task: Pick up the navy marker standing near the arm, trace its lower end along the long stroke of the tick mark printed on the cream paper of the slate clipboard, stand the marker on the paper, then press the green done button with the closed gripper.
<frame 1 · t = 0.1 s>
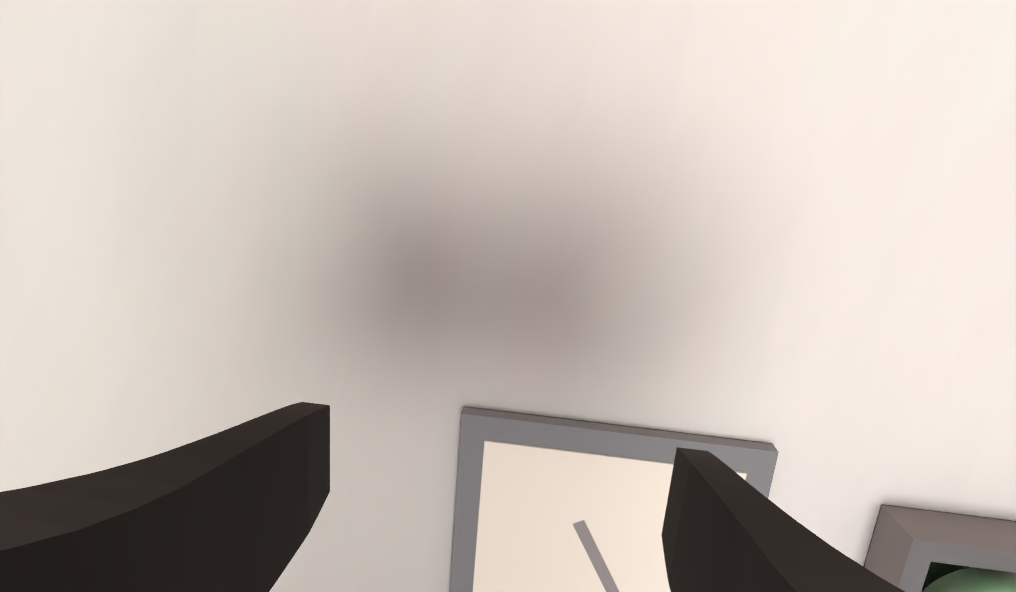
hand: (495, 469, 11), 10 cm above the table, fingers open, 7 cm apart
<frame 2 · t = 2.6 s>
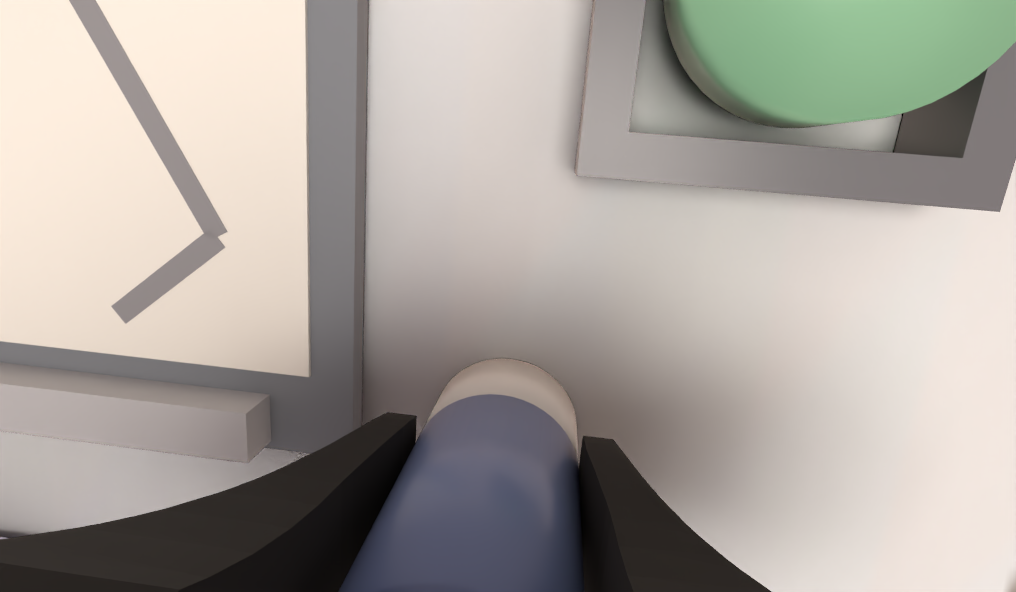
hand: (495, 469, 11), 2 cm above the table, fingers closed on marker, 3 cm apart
marker: (504, 425, 13), on the table, touching gripper
clipboard: (100, 85, 12), on the table
when the fingers open (3 cm above the table, at t = 6.8 s): marker stays where it is, resting on clipboard.
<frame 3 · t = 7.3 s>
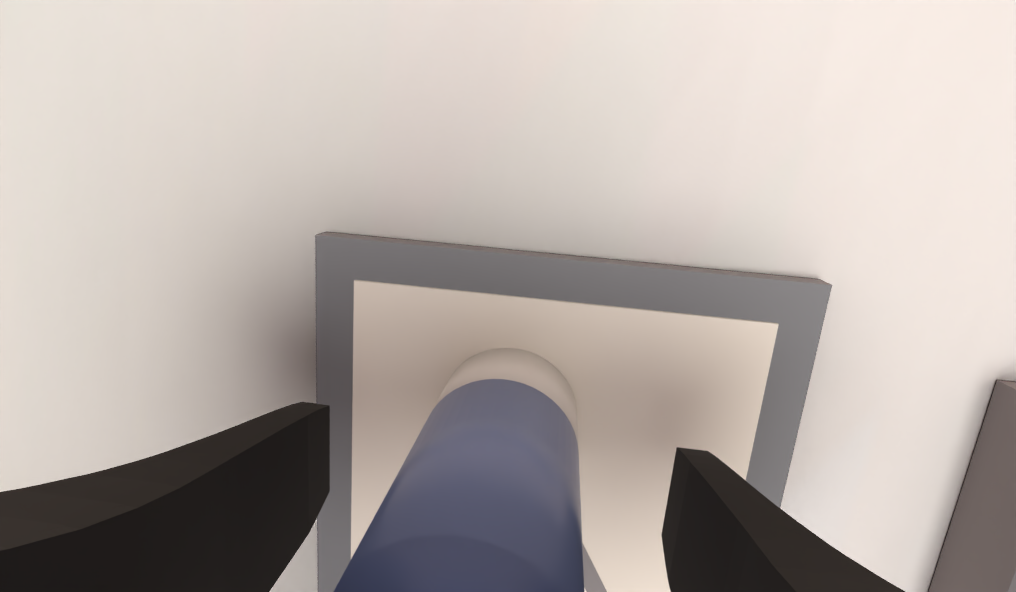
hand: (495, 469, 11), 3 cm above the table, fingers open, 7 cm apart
marker: (508, 412, 14), point 1 cm above the table, touching clipboard
clipboard: (534, 536, 15), on the table
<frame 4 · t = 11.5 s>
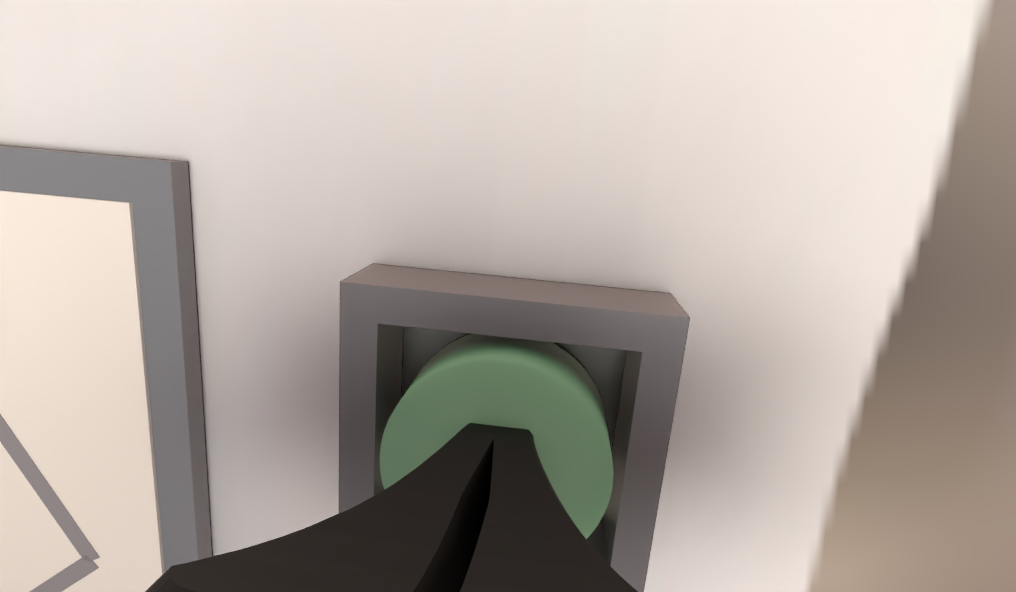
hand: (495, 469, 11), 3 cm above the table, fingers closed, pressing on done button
done button: (499, 447, 12), point 2 cm above the table, slide at -0.8 cm, touching gripper
button housing: (506, 414, 14), on the table
clipboard: (1, 437, 15), on the table
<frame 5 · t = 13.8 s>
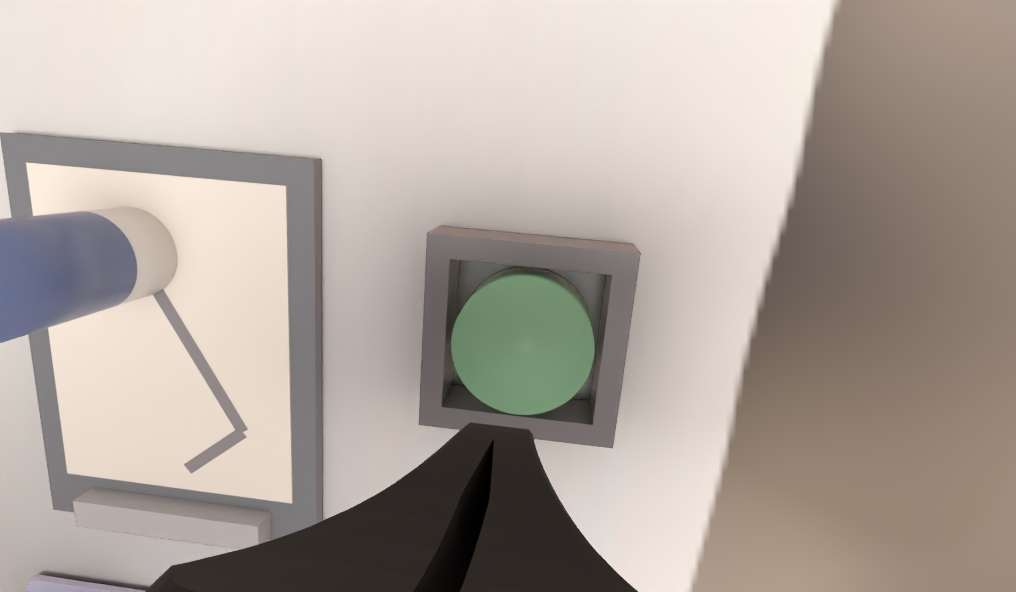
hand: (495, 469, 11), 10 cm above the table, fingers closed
marker: (134, 252, 21), point 1 cm above the table, touching clipboard
done button: (524, 339, 19), point 1 cm above the table, slide at -0.9 cm
button housing: (526, 326, 21), on the table
clipboard: (179, 348, 23), on the table
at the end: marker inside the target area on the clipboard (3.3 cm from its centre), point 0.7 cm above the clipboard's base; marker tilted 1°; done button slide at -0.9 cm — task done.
